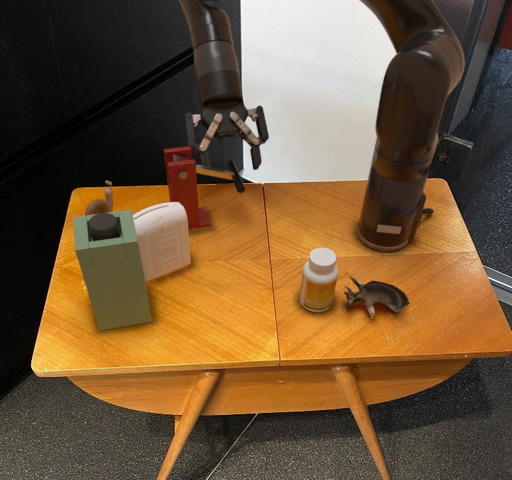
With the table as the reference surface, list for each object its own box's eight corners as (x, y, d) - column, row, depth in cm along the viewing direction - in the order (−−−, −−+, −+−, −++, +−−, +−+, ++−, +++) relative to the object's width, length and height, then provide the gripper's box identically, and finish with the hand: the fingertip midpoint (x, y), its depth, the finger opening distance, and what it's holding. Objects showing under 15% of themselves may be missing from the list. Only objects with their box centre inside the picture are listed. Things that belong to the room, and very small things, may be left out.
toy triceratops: (351, 328, 82) (411, 319, 82) (346, 282, 80) (407, 272, 80) (345, 315, 90) (400, 306, 89) (340, 273, 88) (396, 263, 87)
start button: (119, 229, 76) (115, 211, 74) (121, 246, 74) (117, 227, 71) (92, 233, 75) (87, 214, 73) (94, 250, 73) (89, 231, 71)
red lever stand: (204, 210, 102) (200, 143, 91) (210, 231, 98) (207, 162, 88) (161, 216, 101) (152, 148, 90) (166, 237, 97) (157, 168, 86)
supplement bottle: (293, 295, 88) (298, 249, 81) (321, 285, 90) (329, 240, 83) (309, 317, 85) (316, 272, 78) (338, 307, 87) (348, 262, 79)
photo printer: (183, 251, 95) (176, 190, 85) (195, 265, 92) (190, 205, 83) (128, 273, 91) (115, 212, 81) (140, 288, 88) (128, 227, 79)
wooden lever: (232, 170, 98) (236, 158, 96) (242, 196, 93) (247, 184, 91) (166, 157, 93) (170, 144, 91) (174, 184, 88) (177, 171, 86)
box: (146, 290, 88) (131, 209, 76) (152, 322, 84) (137, 241, 72) (96, 298, 87) (72, 217, 75) (99, 331, 83) (74, 250, 70)
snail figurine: (133, 244, 95) (122, 186, 86) (108, 265, 92) (94, 206, 83) (110, 233, 97) (96, 174, 88) (84, 253, 94) (67, 194, 84)
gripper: (178, 71, 90) (194, 171, 91) (261, 64, 92) (276, 161, 94) (176, 88, 97) (191, 181, 99) (253, 81, 99) (267, 171, 101)
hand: (232, 171), depth 96 cm, fingers open, 8 cm apart
